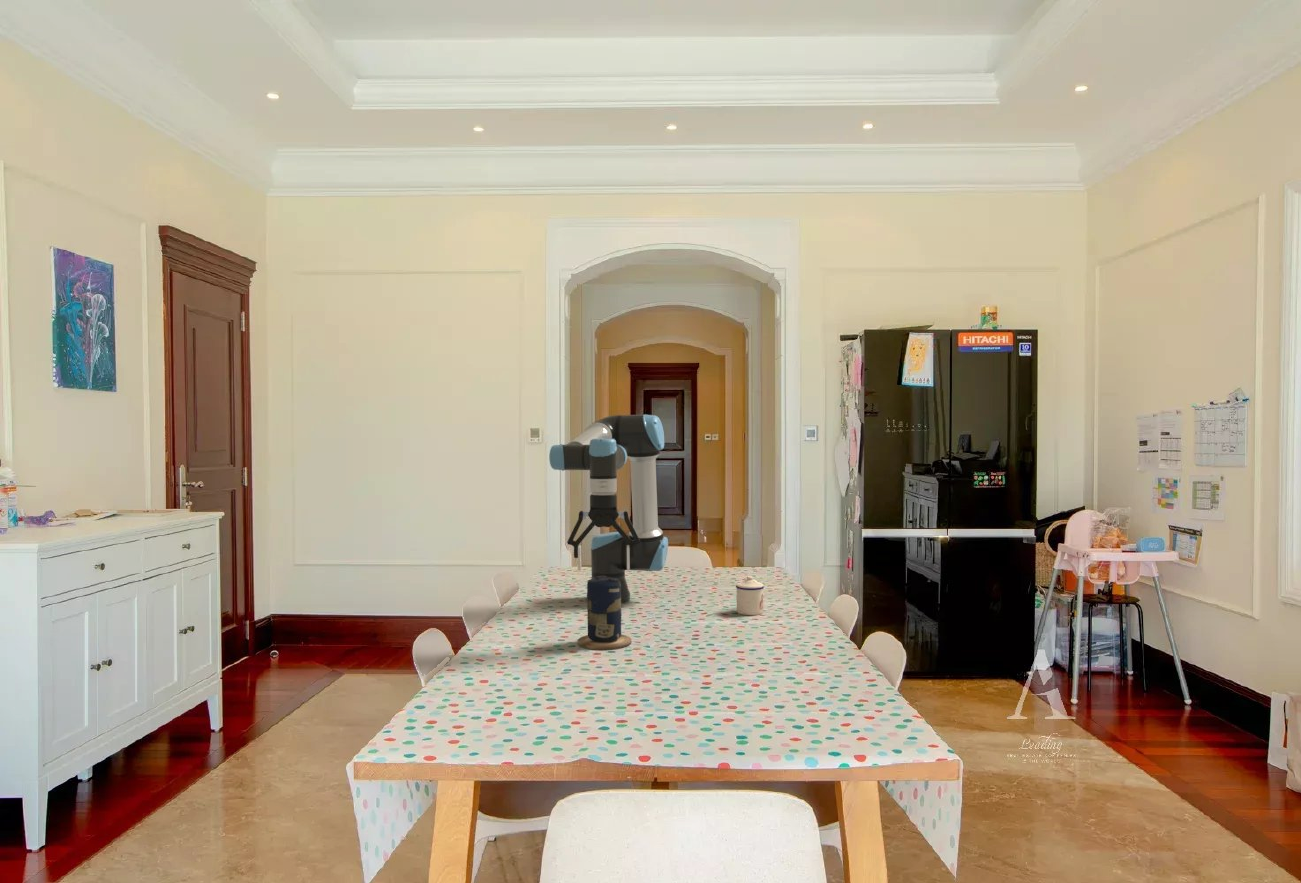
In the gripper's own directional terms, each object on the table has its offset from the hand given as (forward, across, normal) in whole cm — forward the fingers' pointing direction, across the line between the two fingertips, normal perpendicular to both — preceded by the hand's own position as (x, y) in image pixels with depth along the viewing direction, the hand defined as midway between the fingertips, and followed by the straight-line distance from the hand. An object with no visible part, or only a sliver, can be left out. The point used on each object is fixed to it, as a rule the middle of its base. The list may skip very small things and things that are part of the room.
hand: (604, 569), depth 234 cm
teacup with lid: (+21, +46, +36) cm, 62 cm away
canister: (+20, 0, 0) cm, 20 cm away
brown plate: (+21, 0, 0) cm, 21 cm away
